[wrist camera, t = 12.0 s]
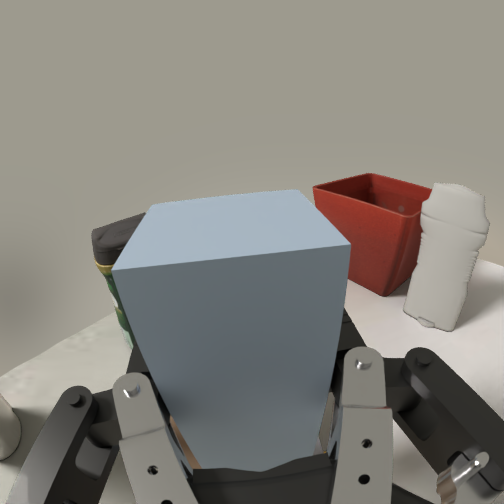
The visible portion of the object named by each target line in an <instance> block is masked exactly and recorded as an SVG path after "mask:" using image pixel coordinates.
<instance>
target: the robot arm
mask: <svg viewBox="0 0 504 504" xmlns="http://www.w3.org/2000/svg"><path fill="white" fill-rule="evenodd" d="M329 392H333V395H334V397H335V399H334V403H333V411H332V420H331V428H330V435H329V442H328V447H327V451H326V453H322V454H317V455H313V456H308V457H303V458H298V459H294V460H292V461H289V462H287V463H284V464H282V465H279V466H277V467H274V468H271V469H269V470H266V471H262V472H257V471H247V470H239V469H232V468H210V469H192V468H191V466H190V464H189V462H188V460H187V458H186V456H185V454H184V452H183V449H182V447H181V445H180V443H179V440H178V438H177V436H176V433H175V431H174V428H173V426H172V423H171V421H170V412H169V410H168V408H167V406H166V405H165V403H164V401H163V399H162V397H161V395H160V393H159V390H158V388H157V386H156V384H155V382H154V380H153V378H152V376H151V374H150V371H149V369H148V367H147V365H146V362H145V360H144V358H143V356H142V353H141V351H140V349H139V346H138V344H137V341H136V339H135V342H134V347H133V349H132V353H131V356H130V360H129V364H128V368H127V372H126V374H125V375H123V376H121V377H120V378H119V379H118V380H117V381H116V382H115V383H114V385H113V389H110V390H107V391H103V392H99V393H95V394H92V393H91V392H90V390H89V389H87V388H86V387H83V386H74V387H71V388H69V389H67V390H66V391H65V392H64V393H63V394H62V395H61V397H60V399H59V400H58V402H57V404H56V405H55V407H54V409H53V410H52V412H51V414H50V416H49V417H48V419H47V421H46V423H45V424H44V426H43V428H42V430H41V431H40V433H39V435H38V437H37V439H36V441H35V443H34V444H33V446H32V448H31V450H30V452H29V454H28V456H27V458H26V460H25V462H24V464H23V466H22V468H21V470H20V472H19V474H18V476H17V478H16V480H15V482H14V485H13V487H12V489H11V491H10V493H9V496H8V498H7V500H6V503H5V504H98V503H99V500H100V498H101V495H102V492H103V490H104V487H105V484H106V482H107V479H108V477H109V474H110V471H111V469H112V466H113V464H114V461H115V459H116V456H117V454H118V451H119V449H120V451H121V455H122V458H123V462H124V465H125V469H126V472H127V475H128V478H129V481H130V484H131V487H132V490H133V493H134V496H135V499H136V502H137V504H434V503H432V502H429V501H427V500H425V499H423V498H421V497H419V496H417V495H415V494H413V493H411V492H409V491H407V490H405V489H403V488H401V487H399V486H397V485H395V484H394V483H392V471H393V419H394V421H395V422H396V423H397V424H398V425H399V427H400V428H401V429H402V430H403V432H404V433H405V434H406V435H407V437H408V438H409V439H410V440H411V442H412V443H413V444H414V445H415V447H416V448H417V449H418V450H419V452H420V453H421V454H422V455H423V457H424V458H425V459H426V460H427V462H428V463H429V464H430V465H431V467H432V468H433V469H434V470H435V472H436V473H437V474H438V475H439V476H438V479H437V494H438V495H440V496H441V504H491V503H492V502H493V501H494V500H495V499H496V498H497V497H498V496H499V494H500V493H502V492H503V491H504V421H503V420H502V419H501V418H500V417H499V416H498V414H497V413H496V412H495V411H494V410H493V409H492V408H491V407H490V406H489V405H488V404H487V403H486V402H485V401H484V400H483V399H482V398H481V397H480V396H479V395H478V394H477V393H476V392H475V391H474V390H473V389H472V388H471V387H470V386H469V385H468V384H467V383H466V382H465V381H464V380H463V379H462V378H461V377H460V376H458V375H457V374H456V373H455V372H454V371H453V370H452V369H451V368H450V367H449V366H448V365H447V364H446V363H445V362H444V361H443V360H442V359H441V358H440V357H439V356H437V355H436V354H435V353H434V352H433V351H431V350H429V349H427V348H422V347H418V348H413V349H411V350H410V351H408V352H407V354H406V356H405V358H384V357H382V356H381V354H380V353H379V352H377V351H376V350H374V349H372V348H369V347H367V346H366V344H365V343H364V341H363V339H362V337H361V336H360V334H359V332H358V330H357V329H356V327H355V325H354V324H353V322H352V320H351V318H350V317H349V316H348V313H347V312H346V310H345V308H344V310H343V317H342V323H341V330H340V336H339V342H338V348H337V353H336V359H335V364H334V369H333V374H332V379H331V384H330V388H329ZM20 437H21V425H20V421H19V419H18V417H17V416H16V415H15V414H14V412H13V411H12V407H11V406H10V404H9V403H8V402H7V401H6V400H5V399H4V397H3V396H2V395H1V394H0V460H2V459H5V458H7V457H8V456H10V455H11V454H12V453H13V452H14V451H15V449H16V447H17V446H18V443H19V441H20Z"/></svg>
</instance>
